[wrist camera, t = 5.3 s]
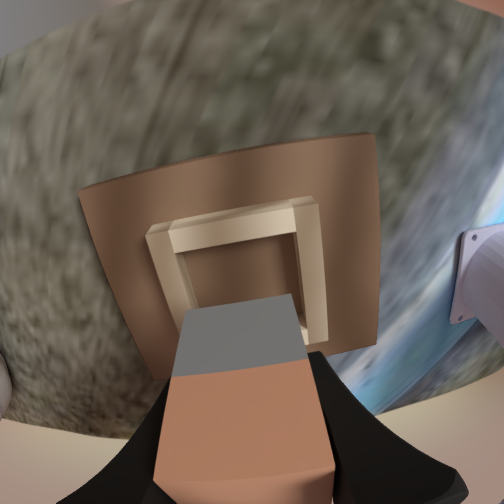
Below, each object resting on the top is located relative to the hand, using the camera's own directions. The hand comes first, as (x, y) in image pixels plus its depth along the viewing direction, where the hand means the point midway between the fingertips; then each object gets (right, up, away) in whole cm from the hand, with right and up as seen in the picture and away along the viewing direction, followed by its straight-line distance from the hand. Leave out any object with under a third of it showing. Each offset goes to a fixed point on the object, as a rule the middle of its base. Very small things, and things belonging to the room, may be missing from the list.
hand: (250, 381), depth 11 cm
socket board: (0, +4, +8) cm, 9 cm away
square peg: (0, +1, +2) cm, 2 cm away
